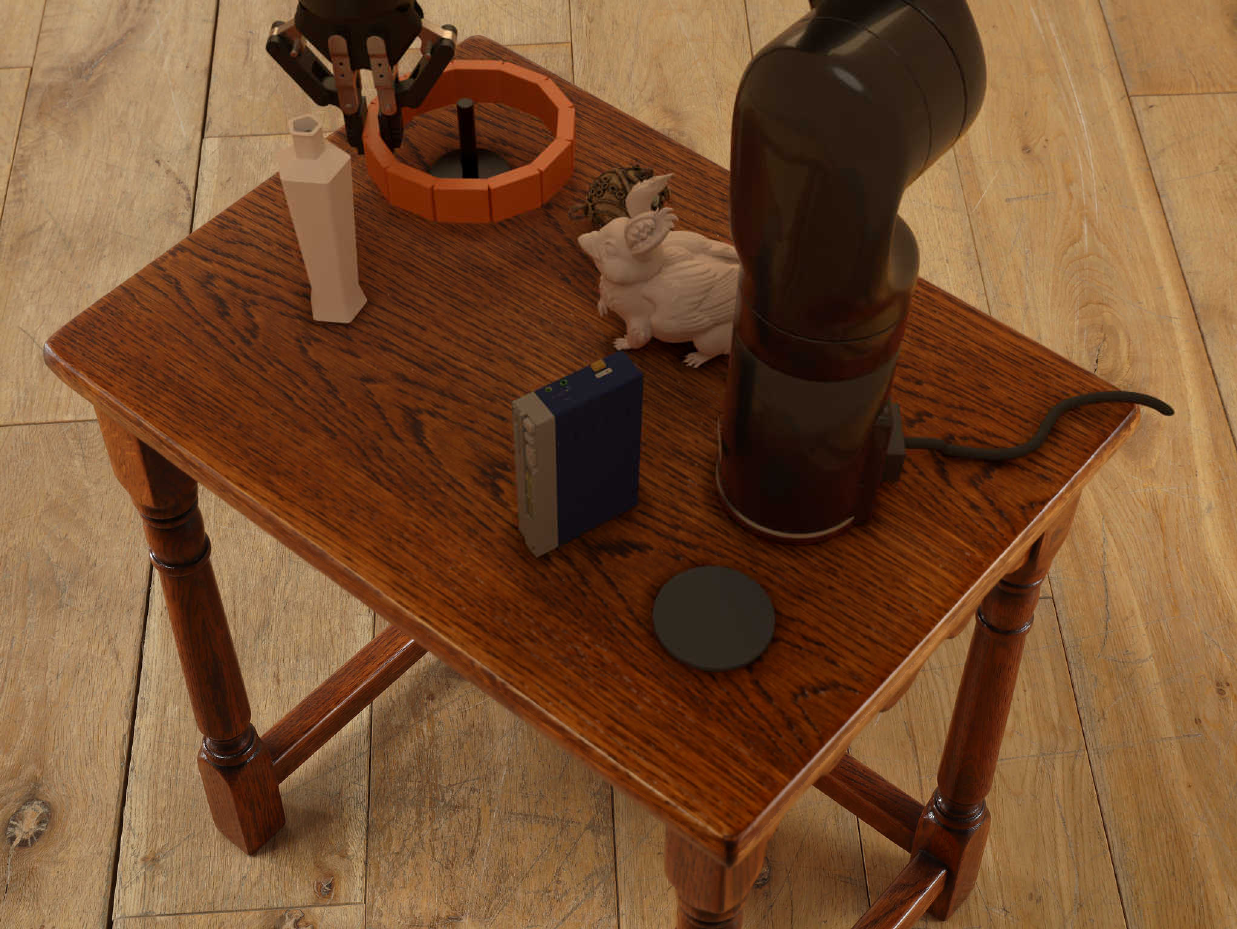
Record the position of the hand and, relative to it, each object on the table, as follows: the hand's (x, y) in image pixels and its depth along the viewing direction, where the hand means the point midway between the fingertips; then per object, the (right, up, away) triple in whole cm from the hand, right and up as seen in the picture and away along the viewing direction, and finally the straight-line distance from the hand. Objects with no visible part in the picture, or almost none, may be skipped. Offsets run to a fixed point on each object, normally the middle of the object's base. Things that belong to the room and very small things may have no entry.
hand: (378, 147), depth 107 cm
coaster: (+23, -32, -22) cm, 45 cm away
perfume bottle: (-2, -12, -6) cm, 13 cm away
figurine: (+22, -14, -7) cm, 27 cm away
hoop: (+7, 0, 0) cm, 7 cm away
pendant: (+17, -6, -1) cm, 18 cm away
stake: (+6, -2, +2) cm, 7 cm away
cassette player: (+15, -26, -17) cm, 35 cm away
